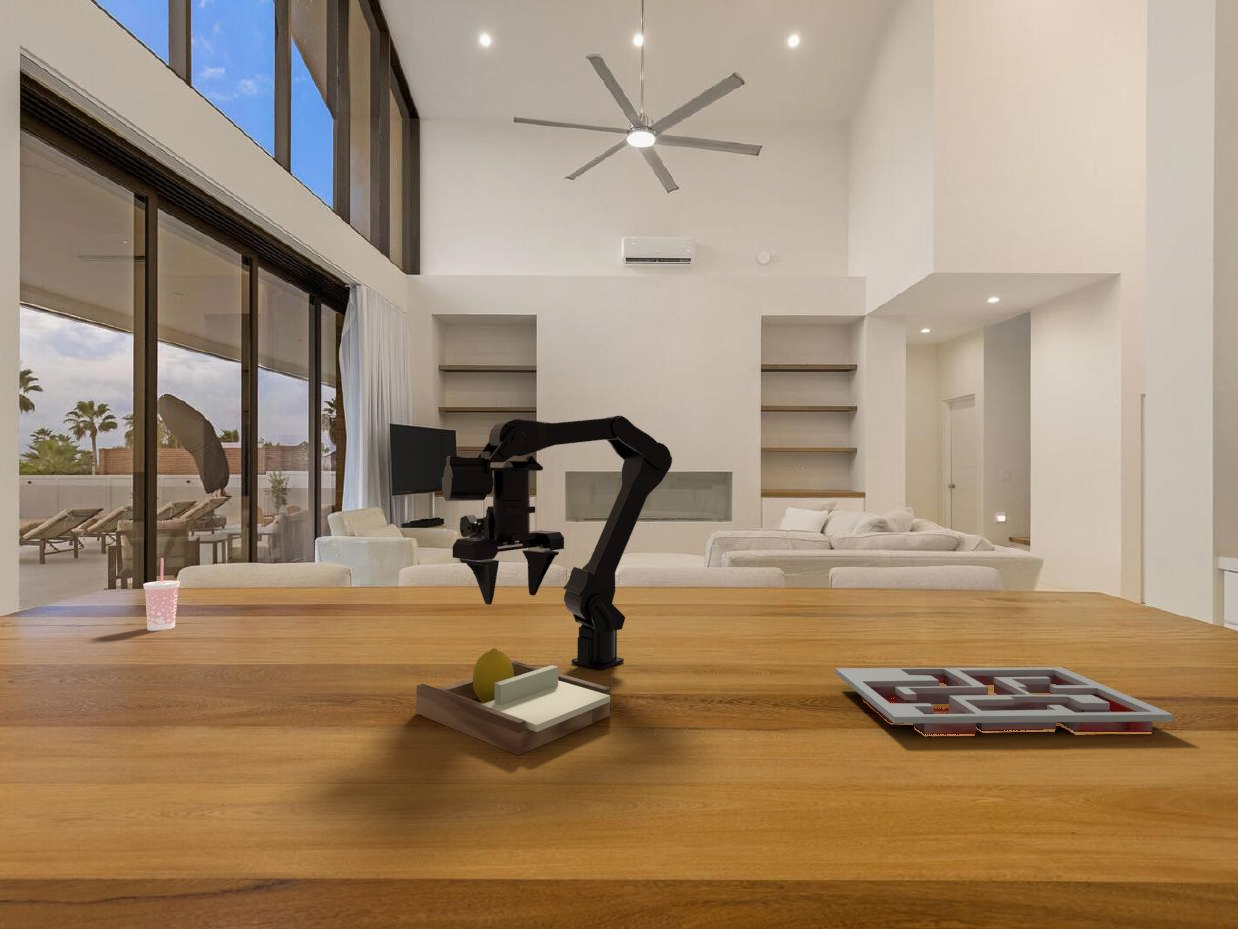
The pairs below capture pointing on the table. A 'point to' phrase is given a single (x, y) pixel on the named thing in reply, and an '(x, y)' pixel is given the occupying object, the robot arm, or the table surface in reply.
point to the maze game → (999, 700)
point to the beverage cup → (161, 603)
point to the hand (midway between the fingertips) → (511, 599)
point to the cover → (543, 698)
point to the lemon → (491, 673)
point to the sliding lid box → (500, 714)
